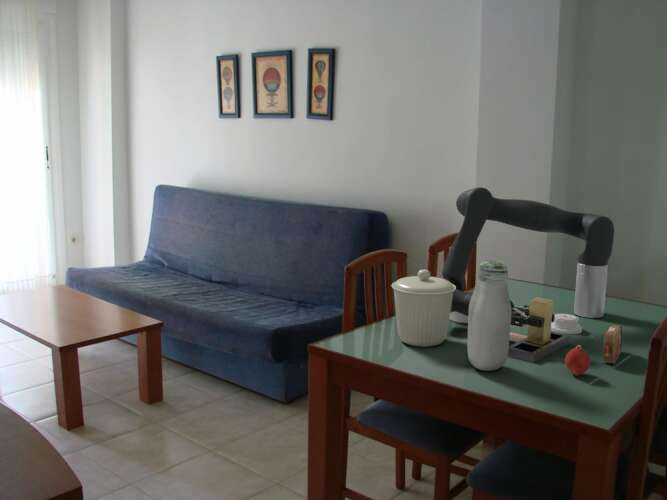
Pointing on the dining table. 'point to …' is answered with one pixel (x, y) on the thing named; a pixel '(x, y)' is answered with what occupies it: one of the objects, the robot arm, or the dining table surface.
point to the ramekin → (458, 317)
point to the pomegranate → (577, 361)
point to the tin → (612, 344)
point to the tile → (516, 337)
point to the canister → (423, 308)
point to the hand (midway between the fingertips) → (548, 321)
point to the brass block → (543, 311)
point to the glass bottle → (489, 317)
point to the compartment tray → (537, 348)
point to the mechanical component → (566, 324)
